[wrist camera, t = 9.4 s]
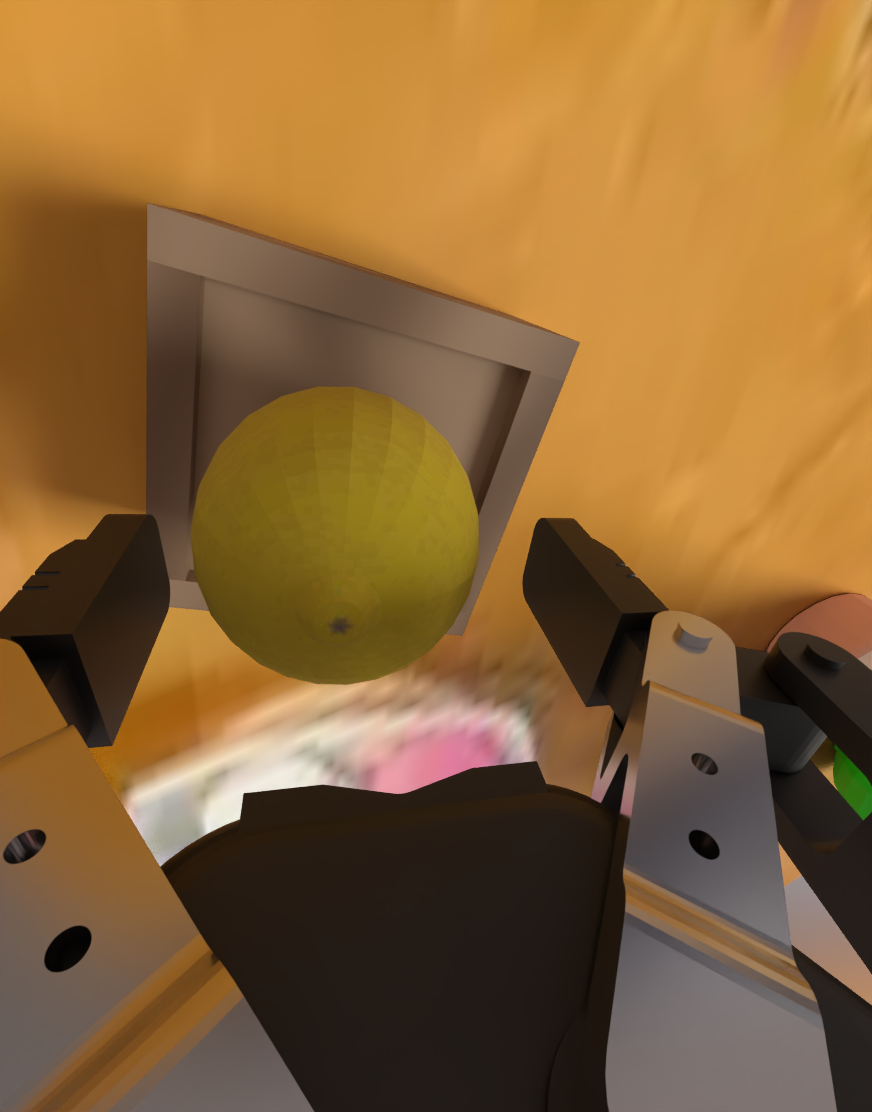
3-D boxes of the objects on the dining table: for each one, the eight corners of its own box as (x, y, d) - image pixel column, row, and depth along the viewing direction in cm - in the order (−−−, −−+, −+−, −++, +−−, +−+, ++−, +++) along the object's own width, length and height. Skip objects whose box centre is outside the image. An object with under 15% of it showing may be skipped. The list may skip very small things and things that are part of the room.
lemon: (249, 567, 14) (145, 790, 7) (235, 366, 12) (71, 396, 5) (434, 570, 15) (507, 769, 8) (451, 383, 13) (569, 428, 6)
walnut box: (510, 315, 17) (579, 342, 13) (432, 553, 22) (462, 635, 17) (203, 215, 14) (147, 202, 10) (188, 515, 19) (146, 604, 14)
